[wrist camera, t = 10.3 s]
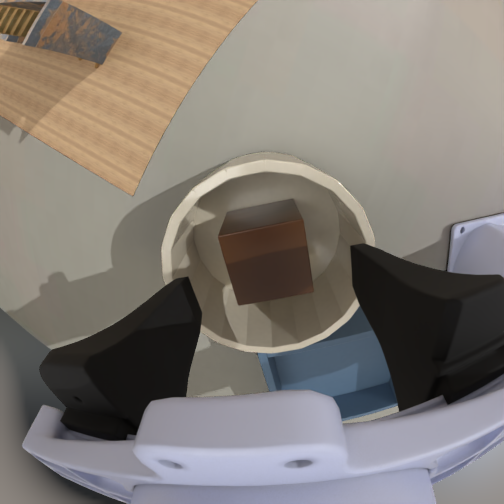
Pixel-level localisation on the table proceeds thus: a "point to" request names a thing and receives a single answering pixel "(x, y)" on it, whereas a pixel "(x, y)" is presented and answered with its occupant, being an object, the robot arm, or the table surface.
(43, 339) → the table surface
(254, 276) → the walnut block
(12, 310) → the table surface
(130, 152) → the architectural model on board
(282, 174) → the cup
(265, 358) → the tub
